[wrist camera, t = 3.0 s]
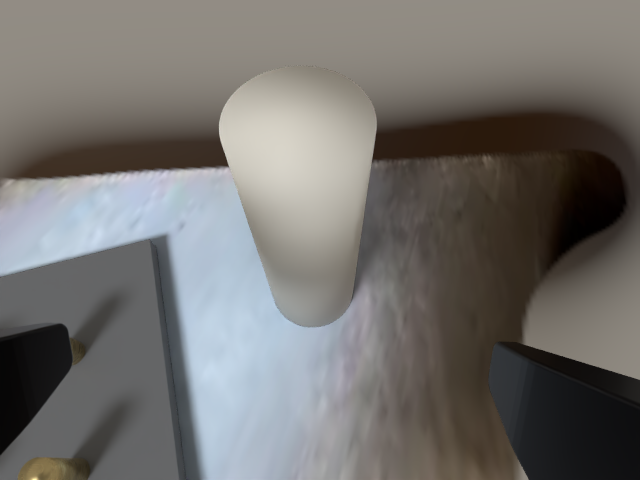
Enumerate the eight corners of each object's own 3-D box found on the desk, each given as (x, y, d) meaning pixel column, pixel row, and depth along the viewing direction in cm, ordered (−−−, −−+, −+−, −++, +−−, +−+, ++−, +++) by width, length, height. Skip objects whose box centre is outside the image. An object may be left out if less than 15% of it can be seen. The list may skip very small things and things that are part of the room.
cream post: (364, 314, 23) (400, 163, 11) (283, 337, 22) (235, 204, 11) (339, 243, 25) (348, 52, 13) (264, 263, 24) (206, 83, 13)
